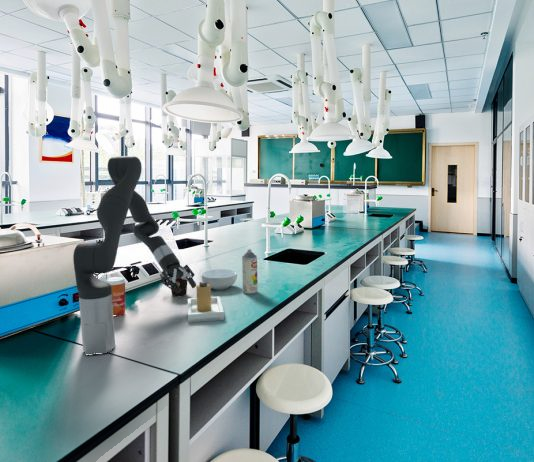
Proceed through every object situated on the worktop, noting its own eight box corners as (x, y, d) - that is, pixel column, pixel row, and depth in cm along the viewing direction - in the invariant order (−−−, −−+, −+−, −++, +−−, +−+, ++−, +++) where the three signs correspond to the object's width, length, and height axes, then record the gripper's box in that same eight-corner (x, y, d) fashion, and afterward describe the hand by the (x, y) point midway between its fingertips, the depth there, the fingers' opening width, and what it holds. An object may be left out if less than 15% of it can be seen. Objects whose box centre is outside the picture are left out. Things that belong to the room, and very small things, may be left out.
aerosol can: (253, 295, 178) (252, 251, 175) (240, 293, 181) (239, 250, 178) (260, 291, 184) (259, 248, 181) (246, 289, 187) (245, 247, 184)
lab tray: (223, 319, 147) (223, 311, 147) (188, 322, 145) (187, 314, 144) (219, 303, 167) (219, 296, 166) (188, 305, 164) (187, 298, 164)
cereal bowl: (194, 289, 188) (194, 275, 187) (215, 281, 203) (214, 267, 202) (224, 294, 180) (224, 278, 179) (243, 285, 195) (243, 271, 194)
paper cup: (105, 318, 151) (103, 282, 149) (108, 311, 158) (105, 277, 156) (127, 316, 153) (125, 280, 151) (128, 309, 160) (126, 275, 158)
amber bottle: (212, 311, 154) (211, 283, 152) (197, 312, 152) (196, 284, 151) (210, 306, 159) (209, 280, 157) (196, 308, 158) (195, 281, 156)
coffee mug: (192, 293, 182) (192, 272, 180) (179, 298, 174) (178, 276, 173) (174, 290, 187) (173, 269, 186) (160, 294, 180) (159, 273, 179)
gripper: (156, 255, 157) (178, 288, 152) (183, 250, 169) (204, 280, 164) (148, 267, 161) (169, 299, 156) (174, 261, 173) (195, 290, 168)
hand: (187, 289), depth 160 cm, fingers open, 8 cm apart
